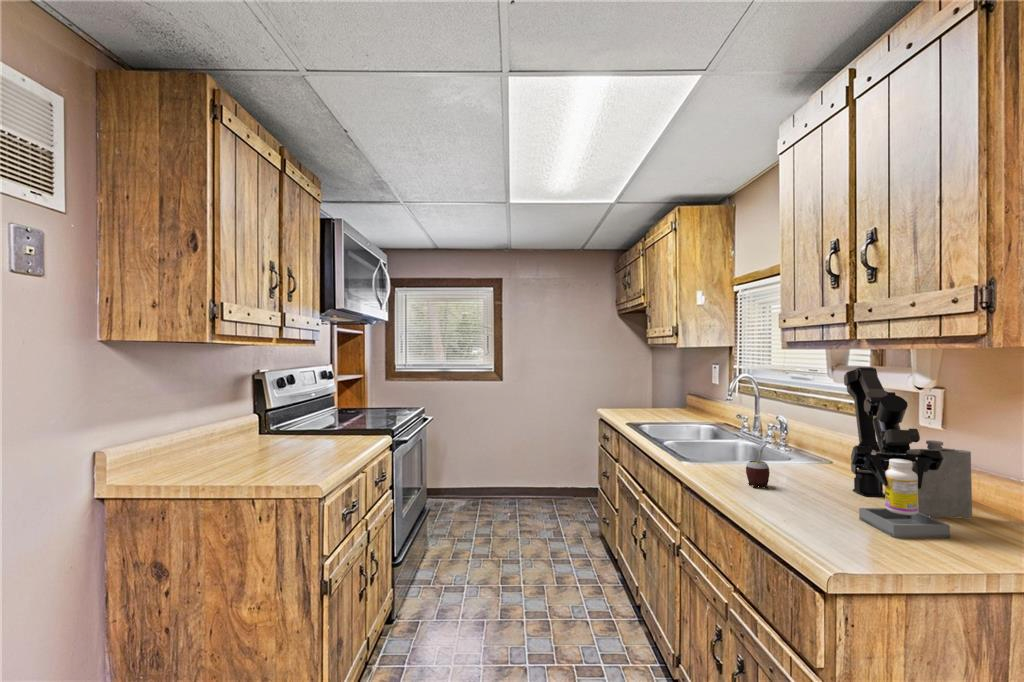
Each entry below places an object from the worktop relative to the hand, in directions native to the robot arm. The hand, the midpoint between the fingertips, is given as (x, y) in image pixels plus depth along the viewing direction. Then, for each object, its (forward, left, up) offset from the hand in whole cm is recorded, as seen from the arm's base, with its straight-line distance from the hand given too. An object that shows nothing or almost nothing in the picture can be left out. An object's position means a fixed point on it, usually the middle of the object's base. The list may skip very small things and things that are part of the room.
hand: (902, 486), depth 127 cm
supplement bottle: (0, -1, -7) cm, 7 cm away
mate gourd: (+19, -39, -11) cm, 45 cm away
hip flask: (-16, -11, -11) cm, 23 cm away
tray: (0, -1, -11) cm, 11 cm away
